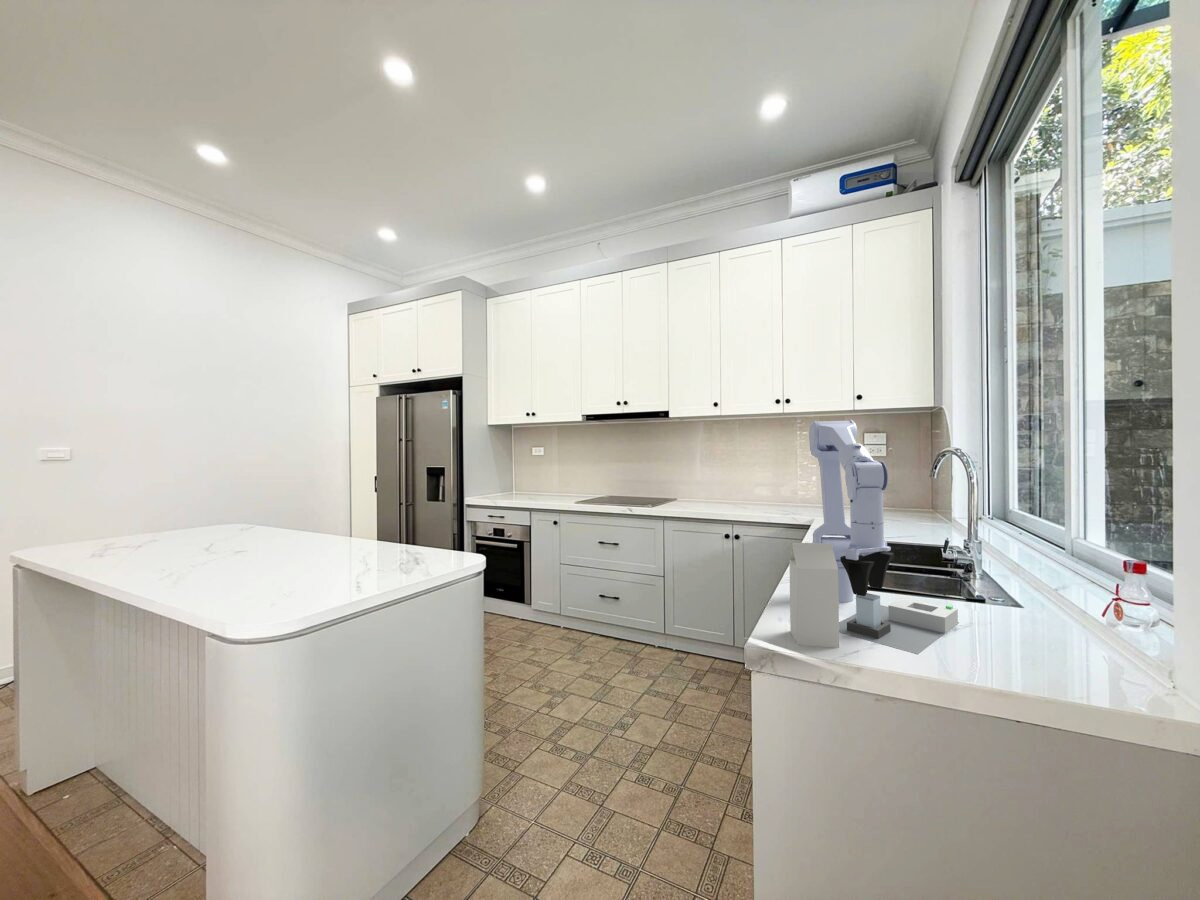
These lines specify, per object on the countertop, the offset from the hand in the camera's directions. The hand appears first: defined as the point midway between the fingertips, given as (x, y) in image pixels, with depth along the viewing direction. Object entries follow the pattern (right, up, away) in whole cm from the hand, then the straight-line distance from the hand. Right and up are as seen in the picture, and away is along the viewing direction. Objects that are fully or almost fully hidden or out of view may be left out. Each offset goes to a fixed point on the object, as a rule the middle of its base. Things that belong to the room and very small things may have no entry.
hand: (868, 591), depth 93 cm
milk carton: (-12, -9, -4) cm, 16 cm away
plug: (0, -8, 0) cm, 8 cm away
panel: (+7, -9, +3) cm, 11 cm away
